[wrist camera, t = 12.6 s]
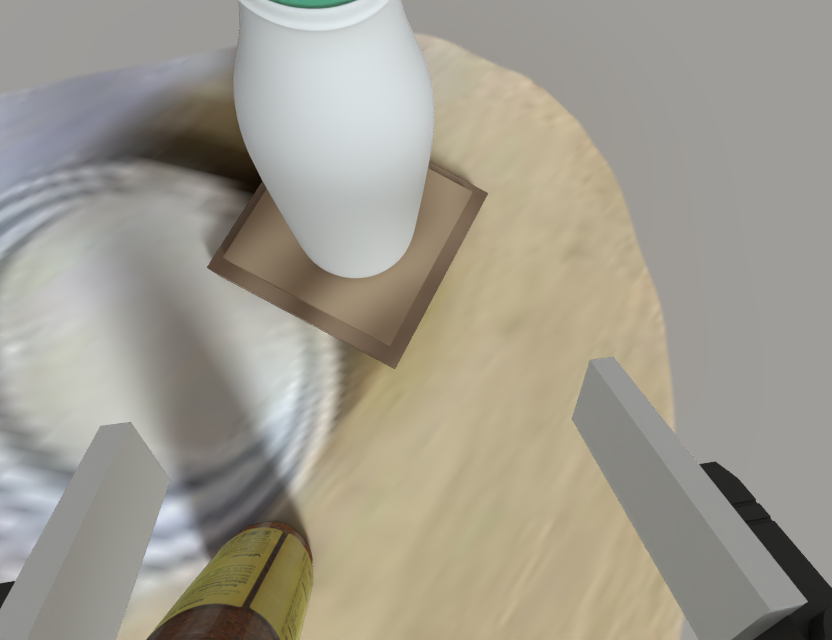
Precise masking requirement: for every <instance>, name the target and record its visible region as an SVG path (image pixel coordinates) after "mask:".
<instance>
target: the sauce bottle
mask: <svg viewBox="0 0 832 640" xmlns="http://www.w3.org/2000/svg"><path fill="white" fill-rule="evenodd" d="M312 587H313V568H312V553H311V550H310V548H309V547H308V545H307V544H306V542H305V540H304V539H303V538H302V537H301V536H300V535H299V534H298V533H297V532H296V531H294V530H293V529H292V528H291V527H289V526H288V525H286V524H282V523H278V522H265V523H260V524H255V525H252V526H248V527H246V528H244V529H243V530H241V531H240V532H239V533H238V534H237V535H236V536H235V537H233V538H232V539H231V540H229V541H228V542H227V543H226V544H225V545H224V546H223V547H222V548H221V549H220V550H219V551H218V552H217V554H216V555H215V556H214V557H213V559H212V560H211V561H210V562H209V564H208V565H207V566H206V567H205V568H204V569H203V571H202V572H201V573H200V574H199V575H198V577H197V578H196V579H195V580H194V581H193V583H192V584H191V585H190V586H189V587H188V589H187V590H186V591H185V592H184V593H183V595H182V596H181V597H180V598H179V600H178V601H177V602H176V603H175V605H174V606H173V607H172V608H171V610H170V611H169V612H168V613H167V615H166V616H165V617H164V618H163V620H162V621H161V622H160V623H159V625H158V626H157V627H156V628H155V630H154V631H153V632H152V633H151V634H150V636H149V637H148V638H147V639H146V640H299V639H300V635H301V631H302V627H303V623H304V619H305V615H306V611H307V608H308V604H309V600H310V596H311V591H312Z"/></svg>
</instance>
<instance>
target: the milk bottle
mask: <svg viewBox="0 0 832 640" xmlns="http://www.w3.org/2000/svg"><path fill="white" fill-rule="evenodd" d="M238 3H239V16H240V30H239V39H238V45H237V51H236V56H235V65H234V76H233V82H234V101H235V108H236V114H237V119H238V123H239V127H240V130H241V133H242V136H243V140H244V142H245V145H246V148H247V150H248V152H249V154H250V157H251V159H252V161H253V163H254V165H255V167H256V169H257V171H258V173H259V175H260V177H261V179H262V181H263V183H264V184H265V186H266V188H267V190H268V191H269V193H270V195H271V197H272V198H273V200H274V202H275V204H276V205H277V207H278V209H279V211H280V212H281V214H282V216H283V217H284V219H285V221H286V223H287V224H288V226H289V228H290V229H291V231H292V233H293V234H294V236H295V238H296V239H297V241H298V243H299V244H300V246H301V247H302V249H303V250H304V252H305V253H306V254H307V256H308V257H309V258H310V259H311V260H312V261H313V262H314V263H315V264H316V265H318V266H319V267H320V268H322V269H324V270H325V271H327V272H329V273H332V274H334V275H337V276H341V277H346V278H365V277H370V276H374V275H377V274H379V273H382V272H384V271H386V270H387V269H389V268H390V267H392V266H393V265H394V264H395V263H397V262H398V261H399V260H400V258H401V257H402V256H403V255H404V253H405V252H406V250H407V249H408V247H409V245H410V243H411V240H412V237H413V234H414V230H415V226H416V221H417V217H418V213H419V208H420V203H421V199H422V194H423V190H424V185H425V180H426V175H427V170H428V165H429V160H430V154H431V147H432V140H433V132H434V99H433V91H432V84H431V79H430V75H429V72H428V68H427V65H426V61H425V58H424V56H423V53H422V51H421V49H420V46H419V44H418V42H417V39H416V37H415V35H414V33H413V31H412V29H411V27H410V25H409V23H408V21H407V18H406V16H405V13H404V10H403V6H402V2H401V0H238Z"/></svg>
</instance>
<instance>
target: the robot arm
mask: <svg viewBox="0 0 832 640" xmlns="http://www.w3.org/2000/svg"><path fill="white" fill-rule="evenodd" d="M572 420H573V422H574V424H575V425H576V427H577V429H578V431H579V432H580V434H581V436H582V438H583V439H584V441H585V443H586V445H587V446H588V448H589V450H590V452H591V453H592V455H593V457H594V458H595V460H596V462H597V464H598V465H599V467H600V469H601V471H602V472H603V474H604V476H605V478H606V479H607V481H608V483H609V485H610V486H611V488H612V490H613V491H614V493H615V495H616V497H617V498H618V500H619V502H620V504H621V505H622V507H623V509H624V511H625V512H626V514H627V516H628V518H629V519H630V521H631V523H632V525H633V526H634V528H635V530H636V531H637V533H638V535H639V537H640V538H641V540H642V542H643V544H644V545H645V547H646V549H647V551H648V552H649V554H650V556H651V558H652V559H653V561H654V563H655V565H656V566H657V568H658V570H659V571H660V573H661V575H662V577H663V578H664V580H665V582H666V584H667V585H668V587H669V589H670V591H671V592H672V594H673V596H674V598H675V599H676V601H677V603H678V604H679V606H680V608H681V610H682V611H683V613H684V615H685V617H686V618H687V620H688V622H689V624H690V625H691V627H692V629H693V631H694V632H695V634H696V636H697V638H698V639H699V640H832V588H831V587H830V586H829V584H828V583H827V582H826V581H825V580H824V579H823V577H822V576H821V575H820V574H819V573H818V572H817V570H816V569H815V568H814V567H813V566H812V565H811V563H810V562H809V561H808V560H807V559H806V557H805V556H804V555H803V554H802V553H801V552H800V550H799V549H798V548H797V547H796V546H795V545H794V544H793V542H792V541H791V540H790V539H789V538H788V536H787V535H786V534H785V533H784V532H783V531H782V529H781V528H780V527H779V526H778V525H777V523H776V522H775V521H772V520H771V518H770V515H769V514H768V513H767V512H766V511H765V509H764V508H763V507H762V506H761V505H760V504H758V503H757V502H756V499H755V498H754V496H753V495H752V494H751V493H750V492H749V491H748V490H747V488H746V487H745V486H744V485H743V484H742V483H741V481H740V480H739V479H738V478H737V477H735V476H734V475H733V474H731V473H730V472H729V471H727V470H726V469H725V468H723V467H722V466H721V465H719V464H718V463H717V462H710V463H704V464H698V463H697V461H696V460H695V459H694V458H693V456H692V455H691V454H690V452H689V451H688V450H687V449H686V447H685V446H684V445H683V444H682V442H681V441H680V440H679V439H678V437H677V436H676V435H675V434H674V432H673V431H672V430H671V428H670V427H669V426H668V425H667V423H666V422H665V421H664V420H663V418H662V417H661V416H660V415H659V413H658V412H657V411H656V410H655V408H654V407H653V406H652V405H651V403H650V402H649V401H648V400H647V398H646V397H645V396H644V394H643V393H642V392H641V391H640V389H639V388H638V387H637V386H636V384H635V383H634V382H633V381H632V379H631V378H630V377H629V376H628V374H627V373H626V372H625V371H624V369H623V368H622V367H621V366H620V364H619V363H618V362H617V361H616V359H615V358H614V357H608V358H600V359H593V360H590V361H589V364H588V368H587V371H586V374H585V377H584V381H583V384H582V387H581V391H580V394H579V397H578V400H577V404H576V407H575V410H574V413H573V417H572ZM169 482H170V479H169V477H168V476H167V474H166V473H165V471H164V470H163V468H162V467H161V465H160V464H159V462H158V461H157V460H156V458H155V457H154V455H153V454H152V452H151V451H150V449H149V448H148V446H147V445H146V443H145V442H144V441H143V439H142V438H141V436H140V435H139V433H138V432H137V430H136V429H135V427H134V426H133V424H132V423H131V422H128V423H120V424H113V425H105V426H100V428H99V430H98V432H97V433H96V435H95V437H94V439H93V441H92V443H91V444H90V446H89V448H88V450H87V452H86V453H85V455H84V457H83V459H82V461H81V463H80V464H79V466H78V468H77V470H76V472H75V474H74V475H73V477H72V479H71V481H70V483H69V484H68V486H67V488H66V490H65V492H64V494H63V495H62V497H61V499H60V501H59V503H58V505H57V506H56V508H55V510H54V512H53V514H52V515H51V517H50V519H49V521H48V523H47V525H46V526H45V528H44V530H43V532H42V534H41V536H40V537H39V539H38V541H37V543H36V545H35V546H34V548H33V550H32V552H31V554H30V556H29V557H28V559H27V561H26V563H25V565H24V567H23V568H22V570H21V572H20V574H19V576H18V577H17V579H16V581H12V582H6V583H0V640H116V637H117V634H118V632H119V629H120V626H121V623H122V620H123V617H124V614H125V611H126V608H127V605H128V602H129V599H130V596H131V593H132V590H133V587H134V585H135V582H136V579H137V576H138V573H139V570H140V567H141V564H142V561H143V558H144V555H145V552H146V549H147V546H148V543H149V540H150V538H151V535H152V532H153V529H154V526H155V523H156V520H157V517H158V514H159V511H160V508H161V505H162V502H163V499H164V496H165V493H166V491H167V488H168V485H169Z"/></svg>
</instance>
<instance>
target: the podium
mask: <svg viewBox="0 0 832 640" xmlns="http://www.w3.org/2000/svg"><path fill="white" fill-rule="evenodd" d="M487 195H488V193H487V192H485V191H483V190H481V189H479V188H477V187H475V186H474V185H472V184H470V183H468V182H466V181H464V180H462V179H461V178H459V177H457V176H455V175H453V174H451V173H449V172H447V171H446V170H444V169H442V168H440V167H438V166H436V165H434V164H433V163H431V162H429V165H428V170H427V175H426V180H425V185H424V190H423V194H422V199H421V203H420V208H419V213H418V217H417V221H416V226H415V230H414V234H413V237H412V240H411V243H410V245H409V247H408V249H407V250H406V252H405V253H404V255H403V256H402V257H401V258H400V260H399V261H398V262H397V263H395V264H394V265H393V266H392V267H390V268H389V269H387V270H386V271H384V272H382V273H379V274H377V275H374V276H370V277H365V278H346V277H341V276H337V275H334V274H332V273H329V272H327V271H325V270H324V269H322V268H320V267H319V266H318V265H316V264H315V263H314V262H313V261H312V260H311V259H310V258H309V257H308V256H307V254H306V253H305V252H304V250H303V249H302V247H301V246H300V244H299V243H298V241H297V239H296V238H295V236H294V234H293V233H292V231H291V229H290V228H289V226H288V224H287V223H286V221H285V219H284V217H283V216H282V214H281V212H280V211H279V209H278V207H277V205H276V204H275V202H274V200H273V198H272V197H271V195H270V193H269V191H268V190H267V188H266V186H265V184H264V183H263V181H262V183H261V184H260V186H259V187H258V189H257V190H256V192H255V193H254V195H253V197H252V198H251V200H250V201H249V203H248V204H247V206H246V207H245V209H244V211H243V212H242V214H241V215H240V217H239V218H238V220H237V221H236V223H235V225H234V226H233V228H232V229H231V231H230V232H229V234H228V235H227V237H226V239H225V240H224V242H223V243H222V245H221V246H220V248H219V249H218V251H217V253H216V254H215V256H214V257H213V259H212V260H211V262H210V263H209V265H208V267H207V268H208V269H210V270H211V271H213V272H214V273H216V274H217V275H219V276H221V277H223V278H225V279H227V280H228V281H230V282H232V283H234V284H236V285H238V286H240V287H242V288H243V289H245V290H247V291H249V292H251V293H253V294H255V295H257V296H258V297H260V298H262V299H264V300H266V301H268V302H270V303H272V304H274V305H275V306H277V307H279V308H281V309H283V310H285V311H287V312H289V313H290V314H292V315H294V316H296V317H298V318H300V319H302V320H304V321H305V322H307V323H309V324H311V325H313V326H315V327H317V328H319V329H320V330H322V331H324V332H326V333H328V334H330V335H332V336H334V337H335V338H337V339H339V340H341V341H343V342H345V343H347V344H349V345H351V346H352V347H354V348H356V349H358V350H360V351H362V352H364V353H366V354H367V355H369V356H371V357H373V358H375V359H377V360H379V361H381V362H382V363H384V364H386V365H388V366H390V367H392V368H394V369H395V368H396V366H397V364H398V363H399V361H400V359H401V357H402V355H403V353H404V351H405V349H406V347H407V346H408V344H409V342H410V340H411V338H412V336H413V334H414V332H415V330H416V329H417V327H418V325H419V323H420V321H421V319H422V317H423V315H424V313H425V312H426V310H427V308H428V306H429V304H430V302H431V300H432V298H433V296H434V295H435V293H436V291H437V289H438V287H439V285H440V283H441V281H442V280H443V278H444V276H445V274H446V272H447V270H448V268H449V266H450V264H451V263H452V261H453V259H454V257H455V255H456V253H457V251H458V249H459V247H460V246H461V244H462V242H463V240H464V238H465V236H466V234H467V232H468V230H469V229H470V227H471V225H472V223H473V221H474V219H475V217H476V215H477V213H478V212H479V210H480V208H481V206H482V204H483V202H484V200H485V198H486V196H487Z"/></svg>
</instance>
